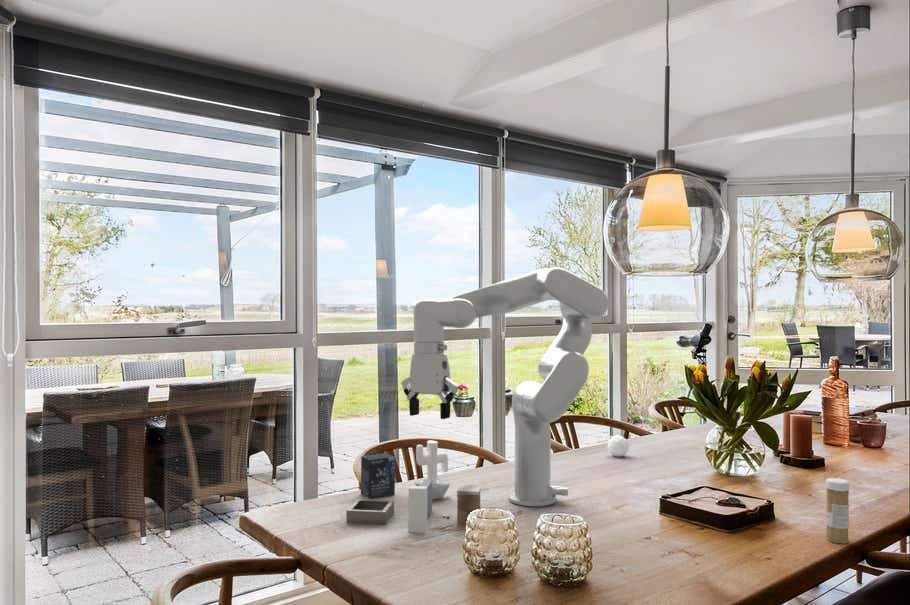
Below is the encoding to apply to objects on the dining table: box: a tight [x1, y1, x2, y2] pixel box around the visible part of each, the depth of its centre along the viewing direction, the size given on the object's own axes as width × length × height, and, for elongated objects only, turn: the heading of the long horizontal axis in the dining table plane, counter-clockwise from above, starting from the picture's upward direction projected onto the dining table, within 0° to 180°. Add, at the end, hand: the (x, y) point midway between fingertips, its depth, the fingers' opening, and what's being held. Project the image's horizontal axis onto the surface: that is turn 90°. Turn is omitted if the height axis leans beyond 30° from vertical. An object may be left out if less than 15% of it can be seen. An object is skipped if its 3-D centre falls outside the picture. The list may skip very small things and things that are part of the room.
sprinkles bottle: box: [825, 477, 851, 544], centre depth 150 cm, size 5×5×14 cm
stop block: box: [456, 484, 482, 526], centre depth 162 cm, size 5×5×8 cm
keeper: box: [345, 498, 395, 526], centre depth 165 cm, size 10×10×3 cm
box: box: [360, 452, 396, 500], centre depth 185 cm, size 8×6×11 cm
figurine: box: [414, 439, 451, 500], centre depth 183 cm, size 7×9×15 cm
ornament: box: [606, 435, 630, 458], centre depth 233 cm, size 7×7×8 cm
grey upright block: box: [407, 478, 433, 534], centre depth 162 cm, size 4×16×10 cm, turn 173°
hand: (429, 416), depth 171 cm, fingers open, 9 cm apart
